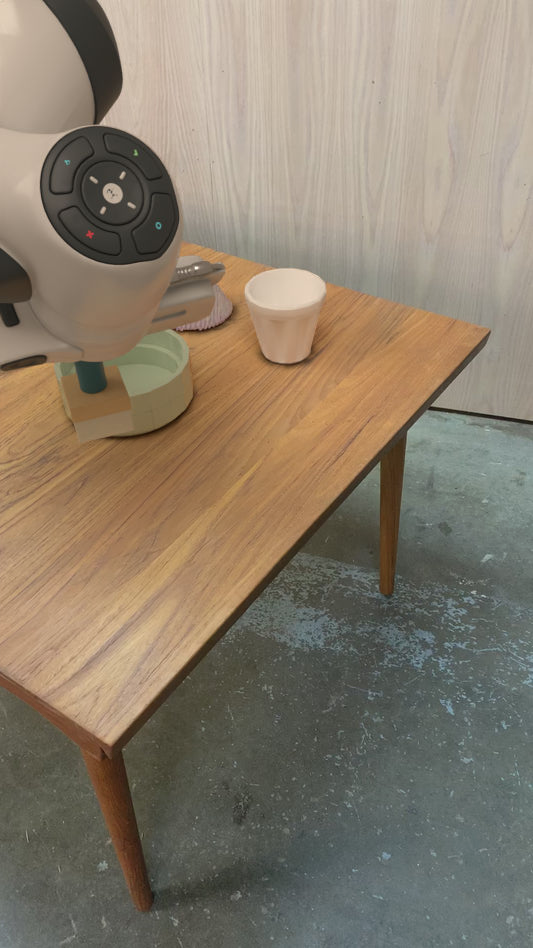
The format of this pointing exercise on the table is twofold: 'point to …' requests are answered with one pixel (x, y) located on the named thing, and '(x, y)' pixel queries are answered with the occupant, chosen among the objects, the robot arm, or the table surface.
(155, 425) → the bowl
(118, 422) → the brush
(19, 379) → the table surface
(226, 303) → the seashell
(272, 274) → the cup
